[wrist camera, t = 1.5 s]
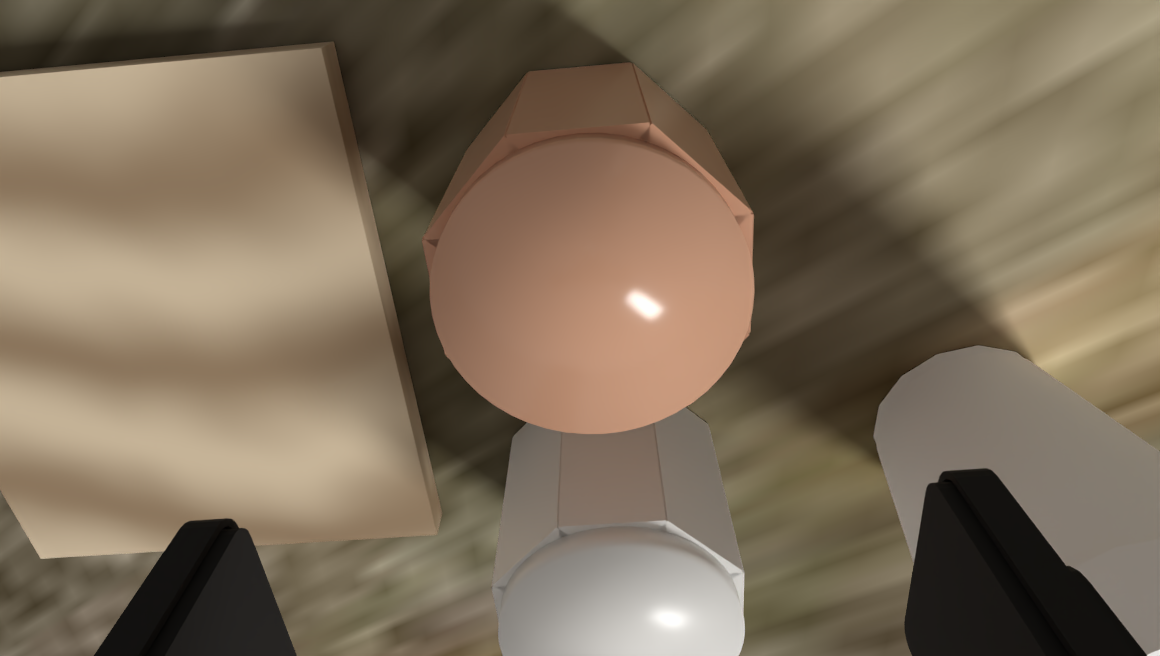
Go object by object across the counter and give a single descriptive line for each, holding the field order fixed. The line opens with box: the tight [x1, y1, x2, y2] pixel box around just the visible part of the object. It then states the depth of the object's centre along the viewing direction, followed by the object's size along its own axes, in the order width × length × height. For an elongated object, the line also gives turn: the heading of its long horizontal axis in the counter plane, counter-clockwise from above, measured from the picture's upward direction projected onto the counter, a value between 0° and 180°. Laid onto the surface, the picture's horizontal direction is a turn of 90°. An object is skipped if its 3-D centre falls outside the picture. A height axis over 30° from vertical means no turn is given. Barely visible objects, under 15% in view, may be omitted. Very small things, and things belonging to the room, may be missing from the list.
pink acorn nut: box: [422, 62, 755, 434], centre depth 20 cm, size 7×7×8 cm
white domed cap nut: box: [492, 407, 745, 656], centre depth 26 cm, size 7×7×8 cm
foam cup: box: [873, 345, 1160, 656], centre depth 22 cm, size 10×9×13 cm
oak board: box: [0, 41, 442, 559], centre depth 26 cm, size 18×16×1 cm
